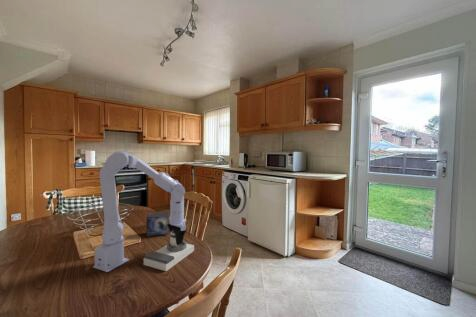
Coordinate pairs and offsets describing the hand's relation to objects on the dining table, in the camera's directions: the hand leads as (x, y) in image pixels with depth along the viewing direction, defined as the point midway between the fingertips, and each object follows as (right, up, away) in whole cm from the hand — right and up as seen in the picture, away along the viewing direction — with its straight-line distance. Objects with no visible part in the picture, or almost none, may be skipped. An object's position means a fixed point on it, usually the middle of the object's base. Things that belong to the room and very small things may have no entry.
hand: (176, 242), depth 93 cm
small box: (-16, -4, +21) cm, 27 cm away
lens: (0, -2, 0) cm, 2 cm away
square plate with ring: (-2, -5, -4) cm, 6 cm away
